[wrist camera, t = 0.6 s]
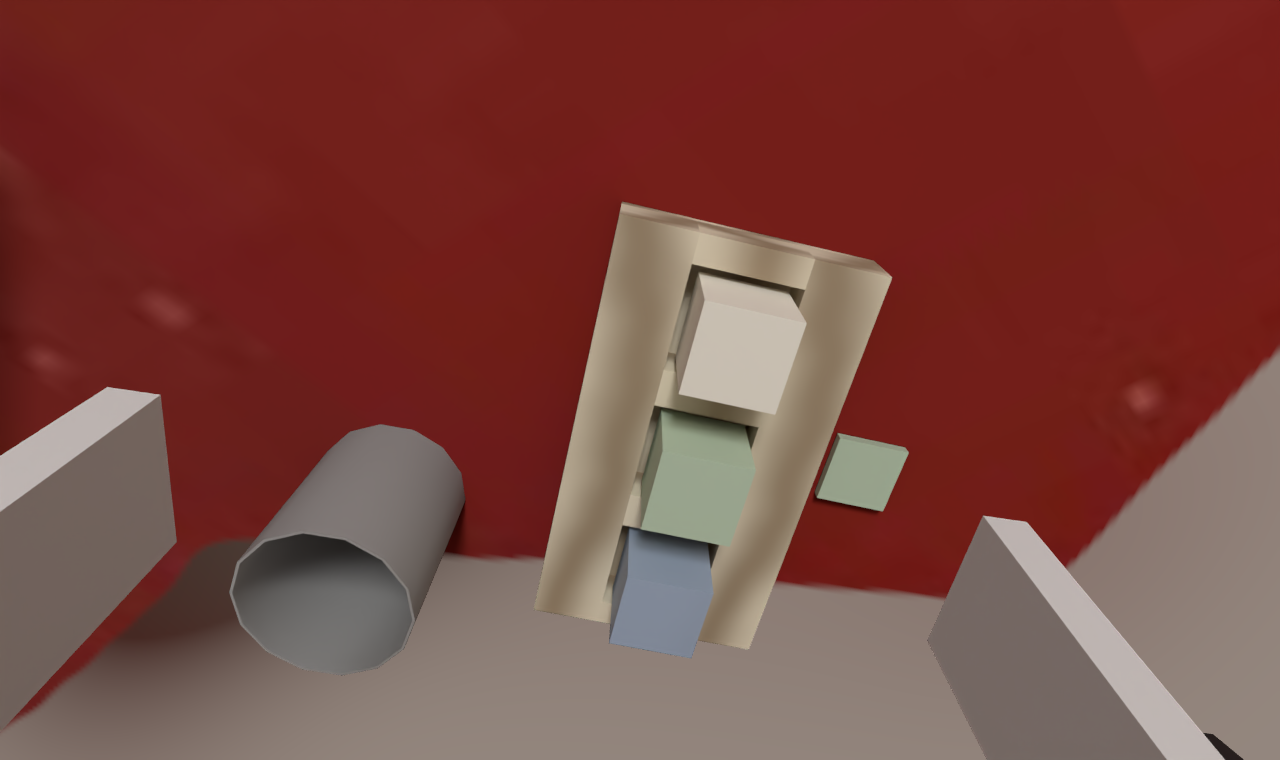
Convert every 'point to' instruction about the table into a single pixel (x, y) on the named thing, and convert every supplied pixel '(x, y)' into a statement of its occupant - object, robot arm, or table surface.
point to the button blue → (660, 593)
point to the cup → (351, 553)
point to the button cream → (738, 343)
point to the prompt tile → (860, 472)
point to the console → (700, 408)
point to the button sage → (696, 478)
